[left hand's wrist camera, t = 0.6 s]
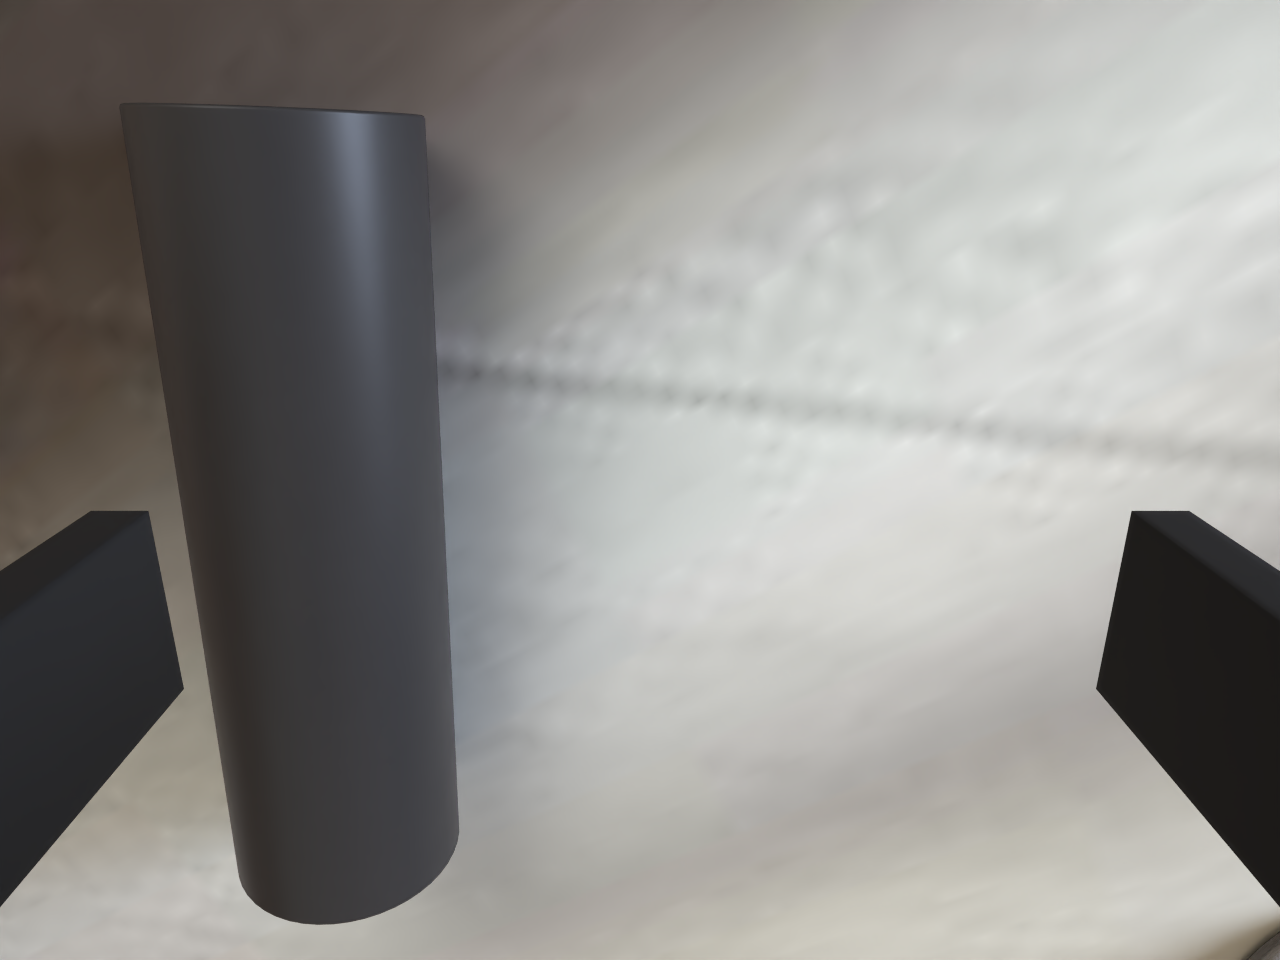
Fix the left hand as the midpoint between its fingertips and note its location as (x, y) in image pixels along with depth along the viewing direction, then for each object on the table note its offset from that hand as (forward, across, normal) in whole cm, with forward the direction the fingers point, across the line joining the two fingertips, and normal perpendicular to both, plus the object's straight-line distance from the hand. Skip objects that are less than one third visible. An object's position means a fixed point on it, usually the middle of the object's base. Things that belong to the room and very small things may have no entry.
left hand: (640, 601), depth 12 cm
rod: (+22, -11, -7) cm, 25 cm away
